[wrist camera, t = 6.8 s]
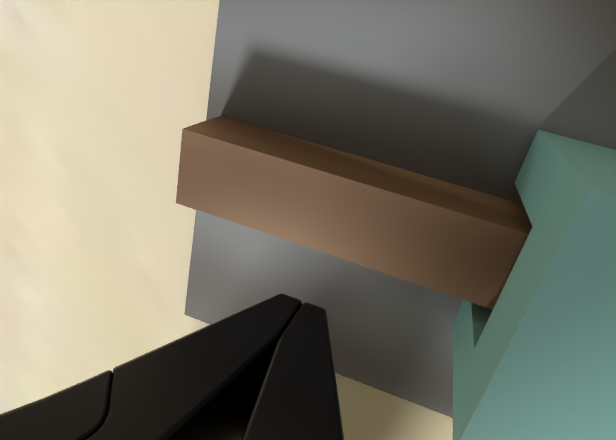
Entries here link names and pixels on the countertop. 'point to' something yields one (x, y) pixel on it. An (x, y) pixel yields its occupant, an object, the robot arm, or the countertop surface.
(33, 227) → the countertop surface
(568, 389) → the block
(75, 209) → the countertop surface
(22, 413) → the robot arm
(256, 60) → the rail track
